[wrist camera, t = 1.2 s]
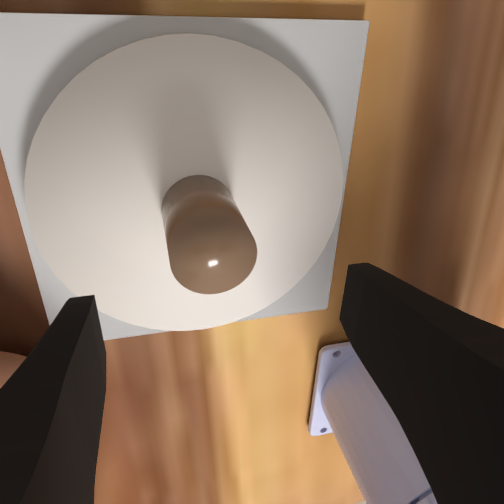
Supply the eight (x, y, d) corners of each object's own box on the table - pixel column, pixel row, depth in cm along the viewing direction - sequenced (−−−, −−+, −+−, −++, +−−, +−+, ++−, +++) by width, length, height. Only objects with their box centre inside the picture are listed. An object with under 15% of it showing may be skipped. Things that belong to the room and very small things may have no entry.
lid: (355, 35, 17) (428, 46, 13) (319, 302, 23) (359, 366, 19) (-16, 30, 14) (-75, 43, 10) (64, 337, 20) (49, 421, 16)
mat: (363, 20, 17) (369, 20, 16) (323, 303, 24) (327, 309, 23) (-33, 11, 14) (-38, 11, 13) (56, 340, 21) (55, 346, 20)
